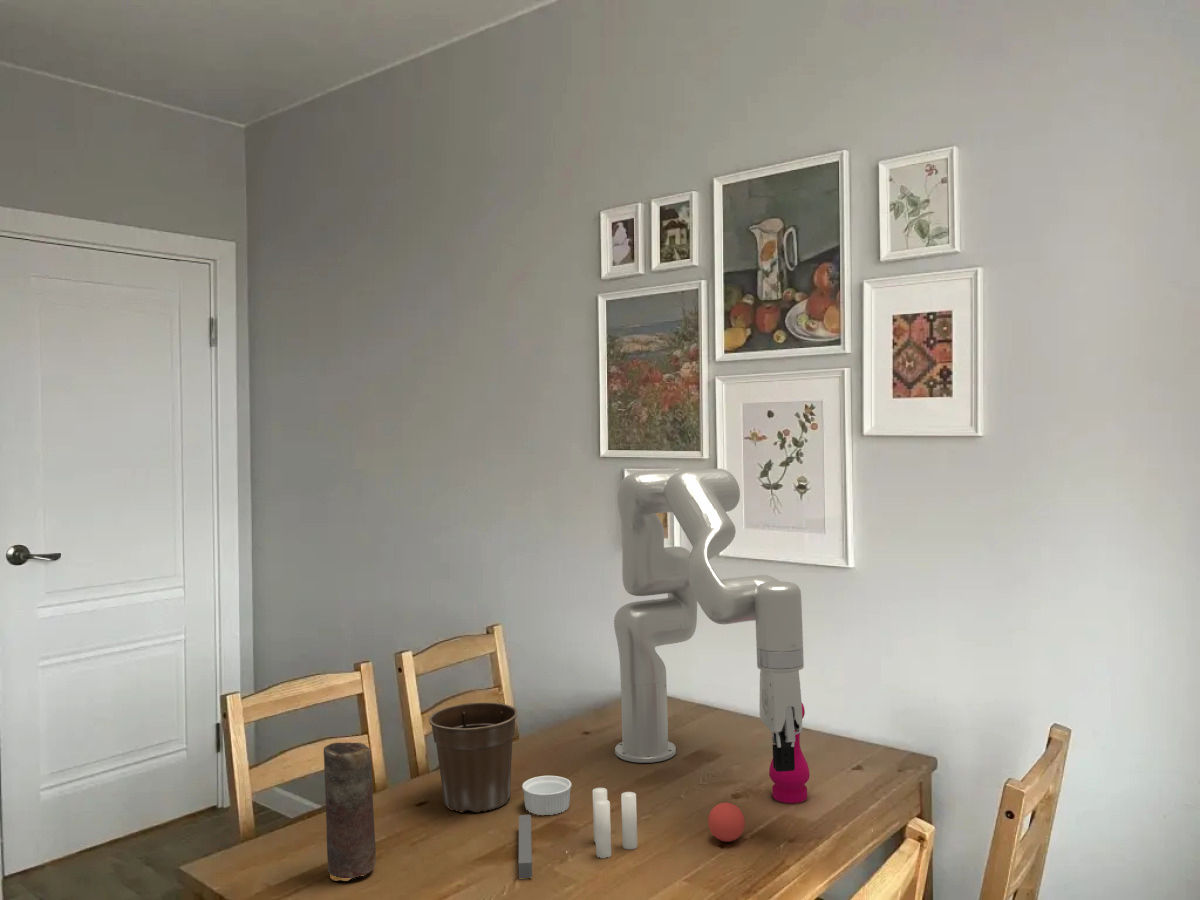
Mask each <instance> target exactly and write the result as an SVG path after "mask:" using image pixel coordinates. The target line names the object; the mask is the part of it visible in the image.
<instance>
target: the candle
mask: <svg viewBox="0 0 1200 900" xmlns="http://www.w3.org/2000/svg"><path fill="white" fill-rule="evenodd" d="M371 752H372V750H371V748H370V747H368V746H367V745H366V744H365V743H362V742H333V743H329V744H327V745H326V746H324V747H323V762H324V763H323V765H324V768H323V769H324V791H325V792H324V795H325V796H324V797H325V819H326V820H325V821H326V855H327V857H326V858H327V873H328V872H329V873H330V874H331V875H333V876H336V877H340V878H353V877H358V876H361V875H365V874H367V873H368V872H370V871H371V872H372V870H373V869H374V868H375V866H376V863H377V855H376V854H377V853H376V852H377V851H376V849H377V848H376V835H375V834H376V833H375V832H376V831H375V815H374V814H375V813H374V796H373V794H374V793H373V791H374V790H373V774H372V753H371ZM371 872H370V873H371ZM367 875H368V874H367ZM365 876H366V875H365ZM358 878H359V877H358Z"/></svg>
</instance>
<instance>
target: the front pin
mask: <svg viewBox="0 0 1200 900" xmlns="http://www.w3.org/2000/svg"><path fill="white" fill-rule="evenodd" d="M620 796H621V799H620V800H621V831H622V833H621V835H622V836H621V837H622V848H623V849H625V850H635V849H637V848H638V823H637V822H638V820H637V818H638V817H637V815H638V814H637V794H636V792H633V791H625V792H622V793H621V795H620Z"/></svg>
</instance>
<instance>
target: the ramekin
mask: <svg viewBox="0 0 1200 900" xmlns="http://www.w3.org/2000/svg"><path fill="white" fill-rule="evenodd" d="M521 788H522V792H523V799H524V800H523V801H524V808H525V809H526V811H527V810H528V811H529V813H530V812H531V813H534V814H538V815H537V816H539V815H551V816H554V815H553V814H556V815H559V814H558V813H560V814H562V813H565V812H566V811H567V810H569V807H570V801H571V799H570V798H571V789H572V782H571V780H569V779H568V778H566V777H563V776H557V775H541V776H535V777H532V778H528V779H527V780H525V781H524V782H523V783H522V785H521ZM565 810H566V811H565ZM528 811H527V812H528ZM561 812H562V813H561ZM531 813H530V814H531ZM534 814H533V815H534Z"/></svg>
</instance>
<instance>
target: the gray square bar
mask: <svg viewBox="0 0 1200 900" xmlns="http://www.w3.org/2000/svg"><path fill="white" fill-rule="evenodd" d="M531 843H532V814H521V815H520V814H519V815H518V879H519V878H530V877H532V878H533V859H532V858H533V857H532V855H533V851H532V850H533V847H532V846H533V845H532V844H533V843H532V844H531Z"/></svg>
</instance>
